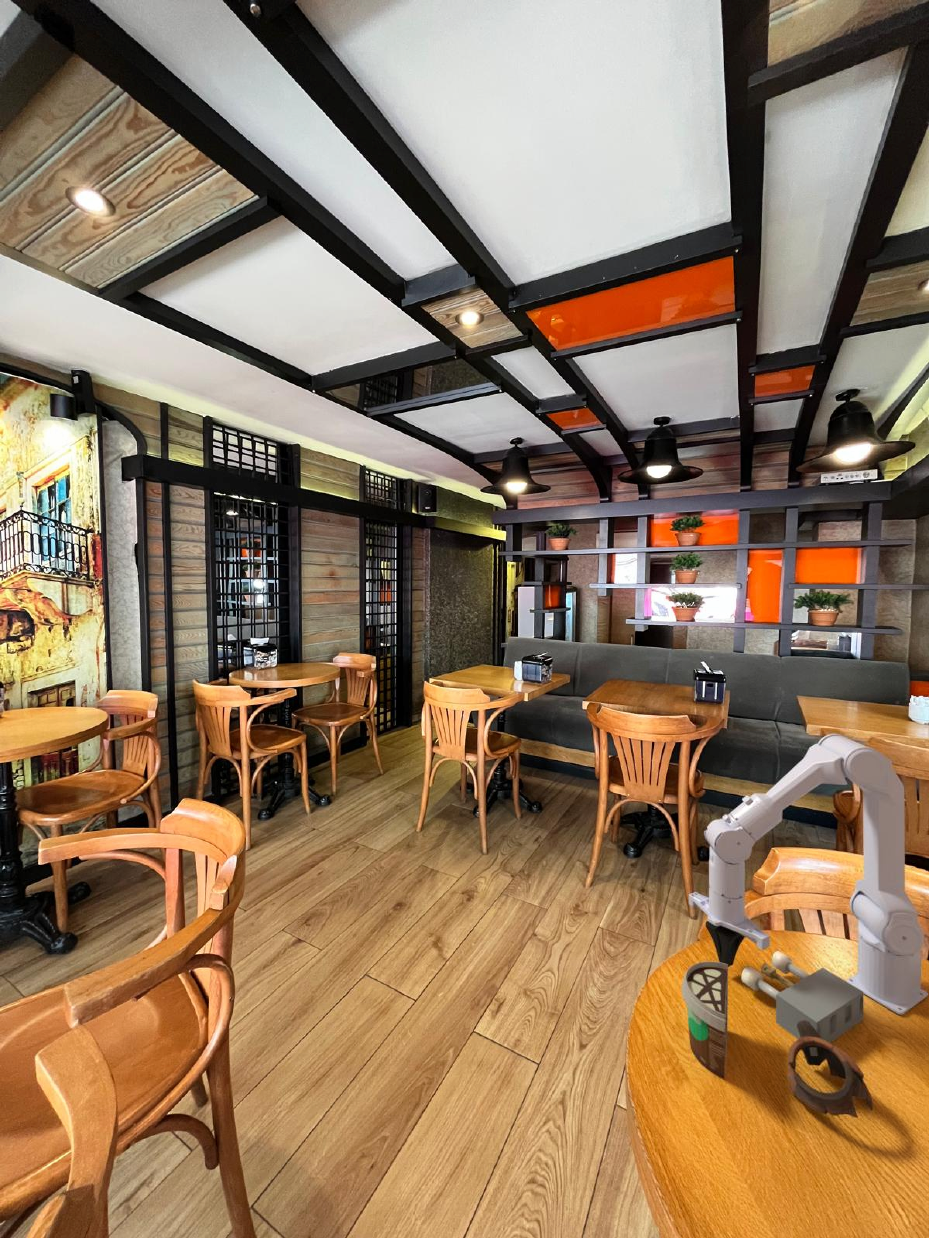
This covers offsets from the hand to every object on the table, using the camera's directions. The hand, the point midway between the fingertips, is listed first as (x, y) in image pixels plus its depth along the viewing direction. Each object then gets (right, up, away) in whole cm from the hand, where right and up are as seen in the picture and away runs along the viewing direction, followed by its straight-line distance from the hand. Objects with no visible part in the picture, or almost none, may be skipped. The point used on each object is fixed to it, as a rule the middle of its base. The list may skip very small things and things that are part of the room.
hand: (726, 963), depth 90 cm
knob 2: (+11, -1, -3) cm, 11 cm away
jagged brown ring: (+2, -3, -22) cm, 22 cm away
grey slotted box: (+10, -2, -10) cm, 14 cm away
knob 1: (+3, -1, -7) cm, 8 cm away
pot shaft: (+7, 0, -5) cm, 9 cm away
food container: (-11, -3, -14) cm, 18 cm away
